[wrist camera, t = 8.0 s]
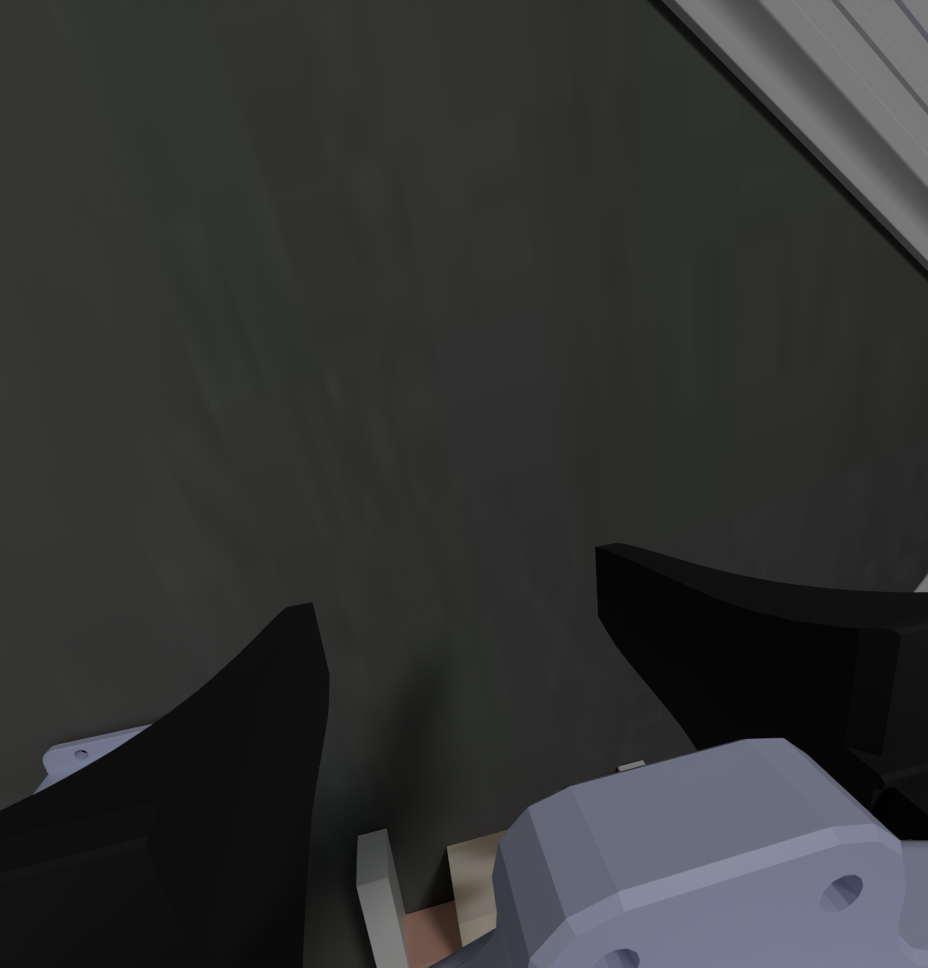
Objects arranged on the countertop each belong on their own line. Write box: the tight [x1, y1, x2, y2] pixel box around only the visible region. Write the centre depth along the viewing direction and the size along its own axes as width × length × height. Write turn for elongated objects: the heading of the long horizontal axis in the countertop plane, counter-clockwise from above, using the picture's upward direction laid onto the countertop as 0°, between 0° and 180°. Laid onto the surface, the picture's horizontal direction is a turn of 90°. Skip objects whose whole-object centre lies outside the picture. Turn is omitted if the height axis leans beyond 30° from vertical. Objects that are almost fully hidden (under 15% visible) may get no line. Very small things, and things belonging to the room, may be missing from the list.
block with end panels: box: [356, 760, 645, 968], centre depth 26 cm, size 16×8×2 cm, turn 97°
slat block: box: [447, 830, 507, 947], centre depth 26 cm, size 10×4×4 cm, turn 97°
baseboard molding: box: [662, 0, 928, 271], centre depth 19 cm, size 31×3×12 cm
